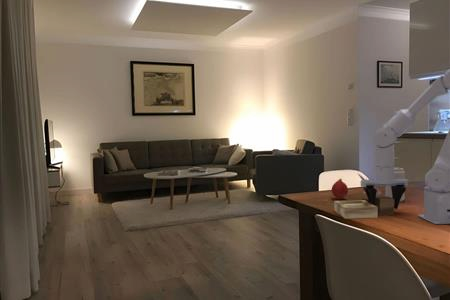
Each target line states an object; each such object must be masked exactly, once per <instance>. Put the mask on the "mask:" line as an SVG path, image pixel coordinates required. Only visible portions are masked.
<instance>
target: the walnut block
mask: <svg viewBox="0 0 450 300" xmlns="http://www.w3.org/2000/svg"><path fill="white" fill-rule="evenodd" d="M377 196H378V197H376V199H375V206H376V207H378V215H380V216H393V215H395V208H394V199H393V198H391V197H388V196H385V195H384V196H383V195H381V196H379V195H377Z"/></svg>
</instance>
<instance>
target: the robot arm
mask: <svg viewBox="0 0 450 300" xmlns="http://www.w3.org/2000/svg"><path fill="white" fill-rule="evenodd" d="M448 90H449V91H450V68H449V69H447V70H446V71H445V73H444V74H443V75H441V76H439V77H437V78H436V79H435V80H434V81H433V82H432V83H431V84H430V85H429V86H428V87H427V88H426V89H425V90H424V91H423V92H422V93H420V95H419V96H417V98H416V99H415V100H414V101H413V102H412V103H411V105H409V107H408V108H404V109H403V108H401V109H399V110H398V111H397V110H396V111H394V112H393V113H392V115H393V116H392V117H391V118H390V119H389V120H388V121H387V122H386V123H385V122H384V123H383V124H382V125H381V126H382V128H378V129H376V131H375V132H374V134H373V137H372V139H373V142H374V144H375V151H374V178H372V179H367V180H362V179H360V186H361V188H363V191H364V190H365V192H366V194H365V195H366V197H367V199H368V202H369V203H371V204H373V205H375V199H376V192H377V189H378V188H377V189H375V187H385V186H391V189H392V198H393V199H394V210H398V208H399V204H400V203H401V202H400V199H401V197H402V195H403V194H404V192H406V191H407V187H409V179H406V178H405V179H394V168H395V143H396V142H397V141H398V138H399V137H401V136H403V134H404V133H406V131H407V130H409V129H410V128H411V127H412V126H413V125H414V124H415V123H416V116H417V115H419V113H421V111H423V110H424V109H425V108H426V107H428V105H429V104H430V103H432V102H433V101H434V100H435V99H436V98H438V97H439V96H444V95H446V94H449V91H448ZM448 129H449V130H448V131H447V134H446V137H445V139H444V141H443V143H442V145H441V149H440V150H439V153H438V156H437V158H436V160H435V162H434V164H433V166H432V167H431V168H430V169H429V170H428V171H427V172H426V174H425V175H424V183H425V184H426V186H424V192H423V194H424V196H423V199H424V201H423V214H422V213H421V214H420V213H419V214H417V216H418V217H419V218H421V219H423V220H426V221H428V222H430V223H432V224H435V225H448V224H449V225H450V128H448ZM404 186H405V187H404Z"/></svg>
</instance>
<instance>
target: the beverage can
mask: <svg viewBox="0 0 450 300" xmlns="http://www.w3.org/2000/svg"><path fill="white" fill-rule="evenodd" d="M394 179H406V172H405V169H404V168H402V167H394ZM384 187H385V195H384V196H388V197H391V198H392V189H391V186H384ZM404 187H406V186H404ZM405 192H406V191H405ZM405 192H404V194H403V195H402V197H401V199H400V202H399V203H401V202H403V201H405V194H406V193H405Z"/></svg>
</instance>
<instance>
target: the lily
mask: <svg viewBox="0 0 450 300" xmlns="http://www.w3.org/2000/svg"><path fill="white" fill-rule="evenodd" d="M357 175H358V176H359V178H360V180H368V179H366V178H364V177H363V176H362V175H361V174H359V173H357ZM374 187H375V189H377V192H376V197H378V196H379V195H381V194H382V192H381V190H380V189H378V188H377V186H374ZM364 195H366V192H365V190H364V189H363V193H362V195H360V198H359V199H358V200H362V198H363V196H364Z"/></svg>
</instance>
